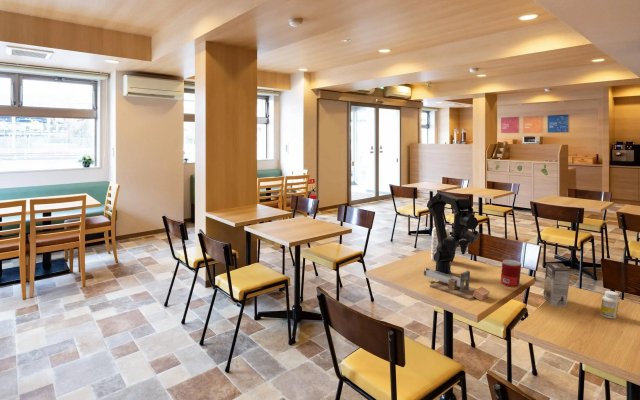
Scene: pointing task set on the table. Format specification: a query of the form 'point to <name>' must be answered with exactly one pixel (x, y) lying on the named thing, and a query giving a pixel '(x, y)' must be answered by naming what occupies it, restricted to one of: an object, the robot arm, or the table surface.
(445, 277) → the shaft
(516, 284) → the canned food
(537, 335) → the table surface
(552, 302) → the coffee box
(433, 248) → the juice carton
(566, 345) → the table surface
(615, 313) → the supplement bottle
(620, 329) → the table surface
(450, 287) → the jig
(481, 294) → the block
